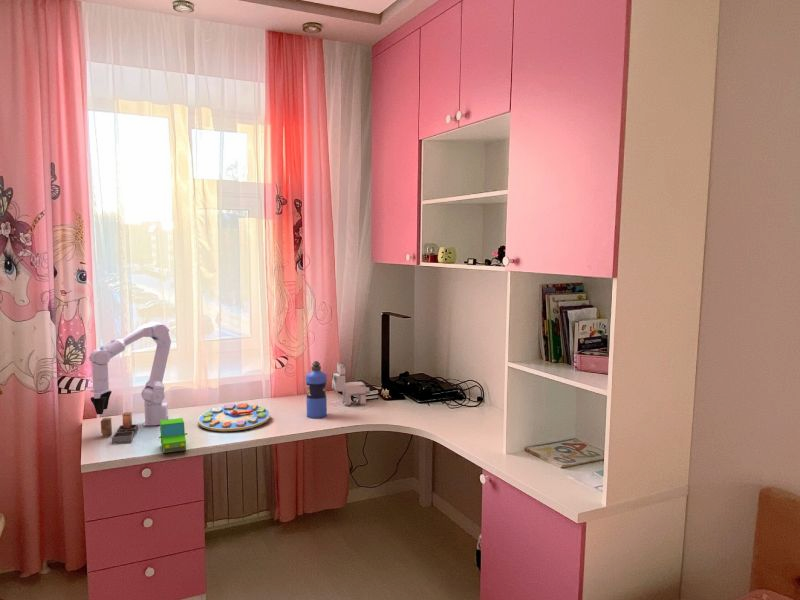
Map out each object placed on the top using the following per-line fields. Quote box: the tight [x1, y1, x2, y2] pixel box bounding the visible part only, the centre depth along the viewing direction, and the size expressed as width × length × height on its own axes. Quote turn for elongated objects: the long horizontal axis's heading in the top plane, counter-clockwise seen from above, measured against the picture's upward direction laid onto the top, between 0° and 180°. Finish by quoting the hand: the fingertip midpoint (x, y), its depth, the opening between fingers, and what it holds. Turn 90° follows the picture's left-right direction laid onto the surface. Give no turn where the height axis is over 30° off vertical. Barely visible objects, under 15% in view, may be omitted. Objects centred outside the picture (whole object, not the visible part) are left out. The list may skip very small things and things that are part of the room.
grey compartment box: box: [111, 411, 139, 445], centre depth 246 cm, size 7×17×8 cm, turn 14°
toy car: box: [158, 417, 188, 455], centre depth 230 cm, size 10×13×10 cm
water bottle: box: [305, 360, 328, 420], centre depth 275 cm, size 9×9×25 cm
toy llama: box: [331, 362, 371, 407], centre depth 296 cm, size 8×18×20 cm, turn 106°
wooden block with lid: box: [100, 417, 113, 438], centre depth 247 cm, size 3×3×7 cm
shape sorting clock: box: [197, 403, 271, 432], centre depth 266 cm, size 31×30×6 cm
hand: (102, 411), depth 248 cm, fingers open, 7 cm apart
